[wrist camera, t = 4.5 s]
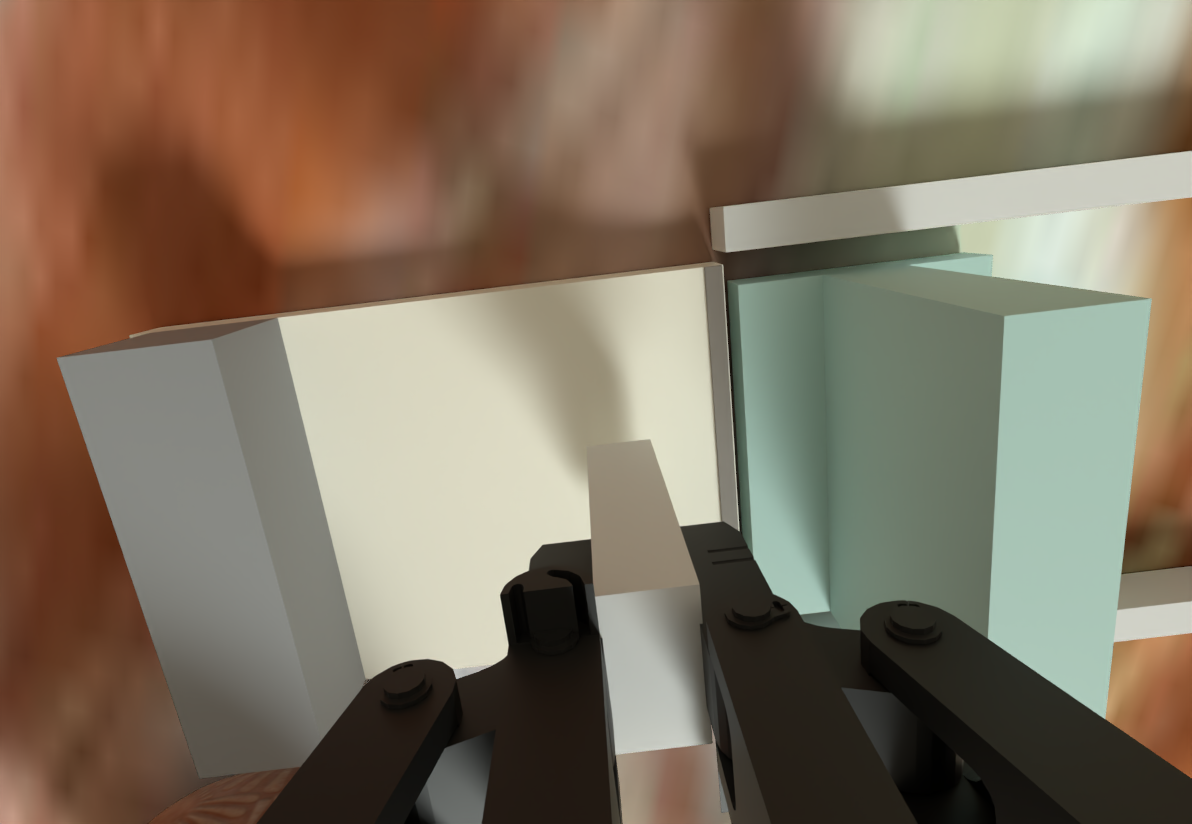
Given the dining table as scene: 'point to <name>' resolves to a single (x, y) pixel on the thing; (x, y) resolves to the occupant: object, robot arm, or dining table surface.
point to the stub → (943, 449)
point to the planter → (229, 799)
